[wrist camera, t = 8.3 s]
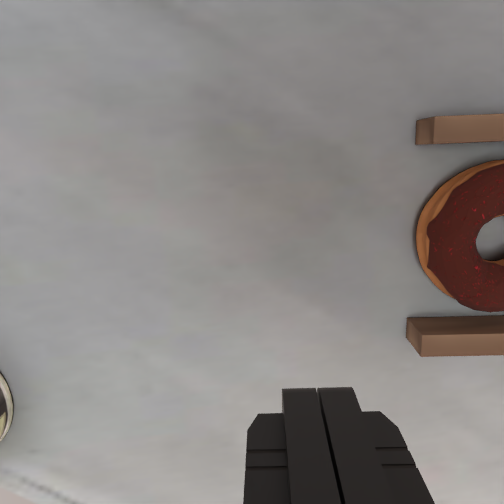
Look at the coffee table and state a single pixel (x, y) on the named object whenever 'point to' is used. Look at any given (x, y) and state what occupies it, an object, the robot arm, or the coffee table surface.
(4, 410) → the coffee can
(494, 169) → the donut
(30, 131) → the coffee table surface
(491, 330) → the walnut pocket
